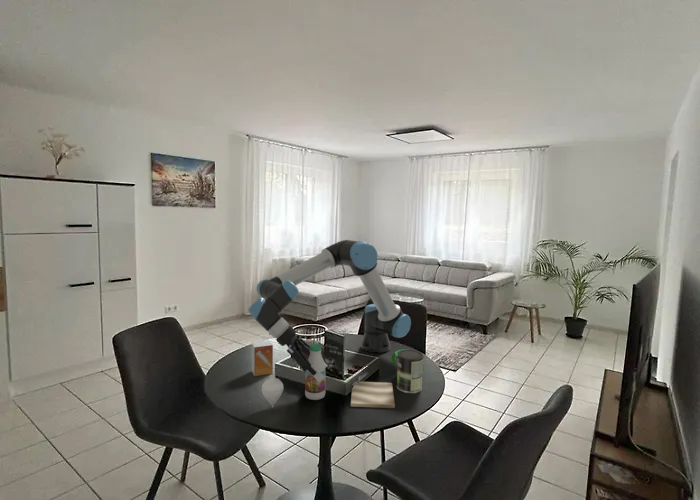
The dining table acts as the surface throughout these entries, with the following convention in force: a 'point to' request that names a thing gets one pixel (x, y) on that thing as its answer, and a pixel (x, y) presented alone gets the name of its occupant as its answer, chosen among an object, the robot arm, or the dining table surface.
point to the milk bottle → (312, 386)
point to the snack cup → (397, 357)
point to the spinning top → (272, 389)
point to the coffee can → (409, 371)
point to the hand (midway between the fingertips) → (323, 373)
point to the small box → (262, 358)
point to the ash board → (373, 395)
